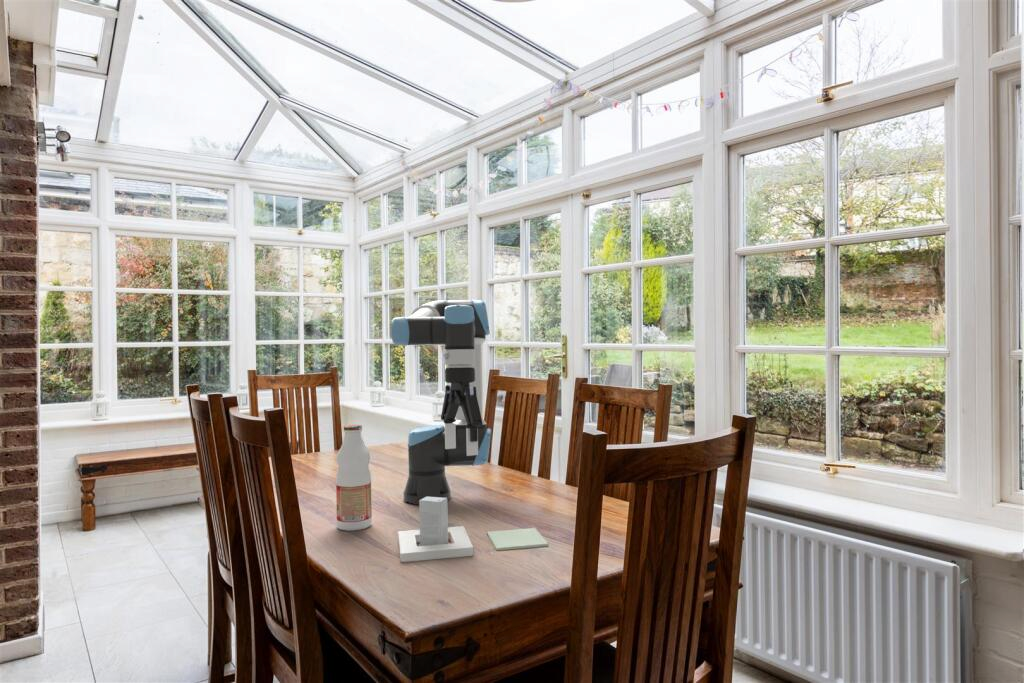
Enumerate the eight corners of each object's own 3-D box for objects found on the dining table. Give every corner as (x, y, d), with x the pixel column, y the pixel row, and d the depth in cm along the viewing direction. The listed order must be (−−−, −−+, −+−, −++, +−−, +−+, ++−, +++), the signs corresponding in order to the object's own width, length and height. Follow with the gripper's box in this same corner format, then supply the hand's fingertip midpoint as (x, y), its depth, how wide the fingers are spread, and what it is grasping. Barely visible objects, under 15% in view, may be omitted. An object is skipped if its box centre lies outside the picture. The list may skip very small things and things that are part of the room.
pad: (487, 534, 162) (487, 531, 162) (535, 530, 164) (535, 527, 164) (496, 550, 149) (496, 548, 149) (548, 545, 152) (548, 543, 152)
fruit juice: (352, 533, 164) (350, 428, 164) (329, 527, 169) (327, 426, 169) (378, 524, 171) (377, 424, 171) (356, 519, 177) (354, 422, 177)
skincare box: (449, 545, 153) (448, 497, 153) (441, 551, 149) (440, 501, 149) (427, 543, 155) (426, 495, 155) (419, 548, 151) (418, 500, 151)
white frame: (398, 539, 159) (398, 531, 159) (463, 533, 162) (463, 526, 162) (400, 562, 142) (400, 553, 142) (473, 555, 146) (473, 547, 146)
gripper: (428, 367, 163) (429, 447, 163) (466, 367, 141) (467, 459, 141) (454, 366, 167) (455, 445, 166) (495, 366, 145) (497, 456, 144)
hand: (461, 451), depth 153 cm, fingers open, 13 cm apart
